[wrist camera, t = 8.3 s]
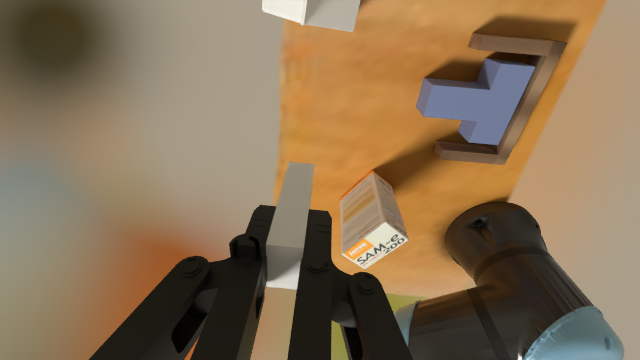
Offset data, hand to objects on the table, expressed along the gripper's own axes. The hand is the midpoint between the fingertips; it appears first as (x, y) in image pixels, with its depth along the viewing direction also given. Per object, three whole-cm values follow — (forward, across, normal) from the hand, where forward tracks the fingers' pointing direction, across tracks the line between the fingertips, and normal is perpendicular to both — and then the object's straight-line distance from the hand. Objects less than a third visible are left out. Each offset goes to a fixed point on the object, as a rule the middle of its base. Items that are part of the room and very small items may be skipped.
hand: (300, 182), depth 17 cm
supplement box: (+25, -10, +17) cm, 32 cm away
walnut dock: (+25, -22, 0) cm, 33 cm away
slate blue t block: (+25, -19, 0) cm, 31 cm away
